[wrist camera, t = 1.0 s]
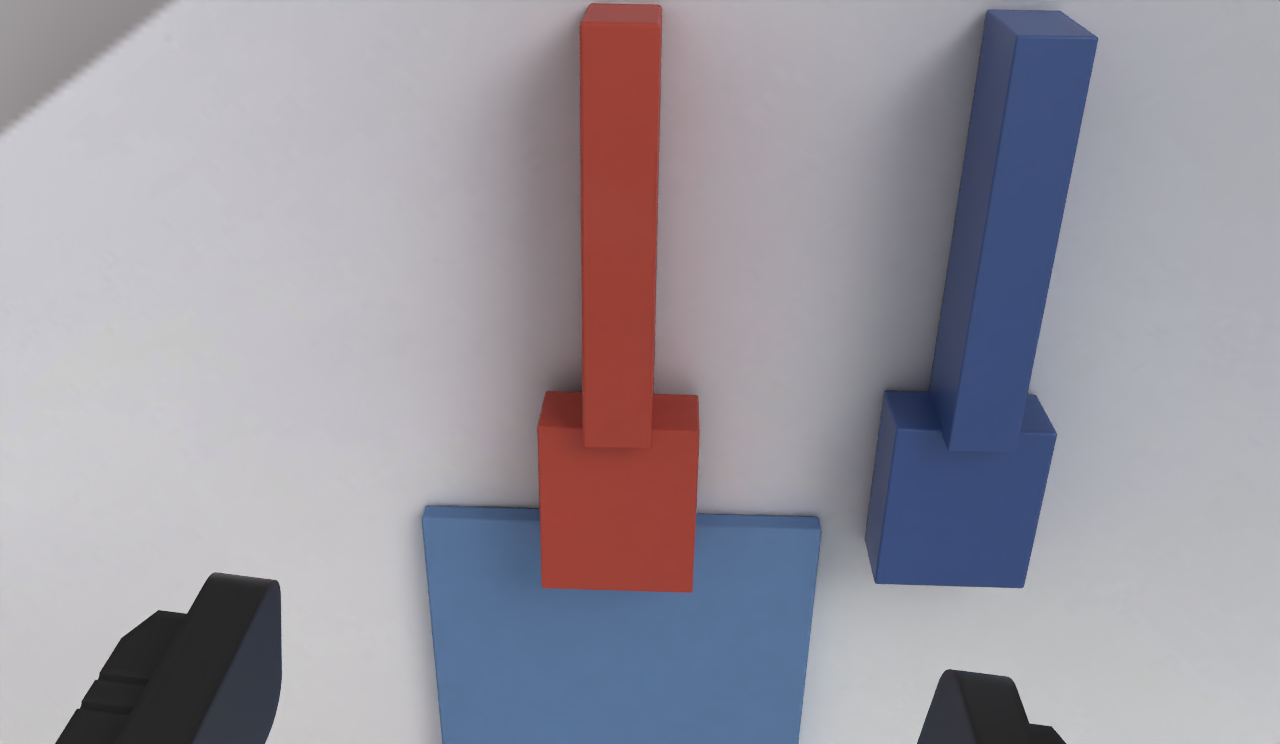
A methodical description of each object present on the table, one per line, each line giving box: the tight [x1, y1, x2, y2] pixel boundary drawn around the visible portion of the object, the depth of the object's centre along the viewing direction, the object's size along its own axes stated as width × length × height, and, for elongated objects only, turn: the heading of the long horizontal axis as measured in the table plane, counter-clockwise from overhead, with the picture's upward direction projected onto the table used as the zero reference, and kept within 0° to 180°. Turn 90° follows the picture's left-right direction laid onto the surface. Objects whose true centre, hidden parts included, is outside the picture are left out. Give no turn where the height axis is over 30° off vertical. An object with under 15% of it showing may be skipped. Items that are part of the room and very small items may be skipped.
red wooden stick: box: [537, 3, 699, 593], centre depth 25 cm, size 13×4×2 cm, turn 179°
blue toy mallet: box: [865, 10, 1098, 588], centre depth 25 cm, size 13×4×2 cm, turn 179°
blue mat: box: [422, 506, 821, 744], centre depth 32 cm, size 14×10×1 cm
